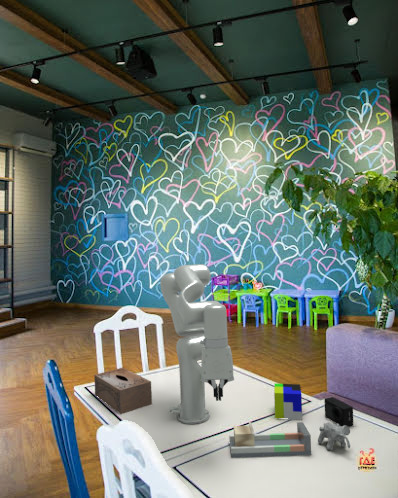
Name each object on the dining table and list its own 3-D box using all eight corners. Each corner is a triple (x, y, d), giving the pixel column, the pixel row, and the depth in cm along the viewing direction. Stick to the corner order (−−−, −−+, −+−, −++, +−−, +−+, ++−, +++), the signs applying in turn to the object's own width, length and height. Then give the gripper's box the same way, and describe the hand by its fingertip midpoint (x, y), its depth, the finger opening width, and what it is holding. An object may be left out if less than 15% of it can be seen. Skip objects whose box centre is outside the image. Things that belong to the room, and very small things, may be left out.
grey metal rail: (231, 457, 122) (231, 448, 122) (229, 442, 131) (229, 434, 131) (311, 454, 122) (310, 446, 122) (303, 440, 131) (303, 432, 131)
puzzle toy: (302, 420, 146) (301, 394, 145) (275, 419, 148) (274, 393, 147) (300, 409, 155) (300, 384, 155) (275, 408, 157) (274, 383, 157)
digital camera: (322, 417, 148) (321, 399, 147) (333, 414, 150) (332, 396, 149) (341, 429, 138) (340, 409, 138) (353, 426, 140) (352, 406, 140)
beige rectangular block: (236, 452, 122) (235, 434, 122) (233, 438, 131) (233, 422, 131) (255, 451, 122) (254, 434, 122) (251, 438, 131) (251, 421, 131)
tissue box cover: (95, 396, 177) (94, 374, 177) (123, 388, 186) (123, 367, 186) (121, 415, 156) (120, 390, 156) (152, 404, 165) (151, 381, 165)
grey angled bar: (304, 451, 122) (304, 435, 122) (297, 437, 131) (297, 422, 131) (311, 451, 122) (310, 435, 122) (303, 436, 131) (303, 422, 131)
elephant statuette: (330, 437, 133) (328, 415, 133) (363, 449, 123) (361, 425, 124) (313, 447, 127) (311, 423, 127) (347, 460, 118) (344, 435, 118)
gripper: (192, 346, 122) (195, 404, 122) (240, 344, 122) (242, 402, 122) (193, 340, 130) (195, 395, 130) (238, 339, 130) (240, 393, 130)
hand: (218, 399), depth 126 cm, fingers closed
